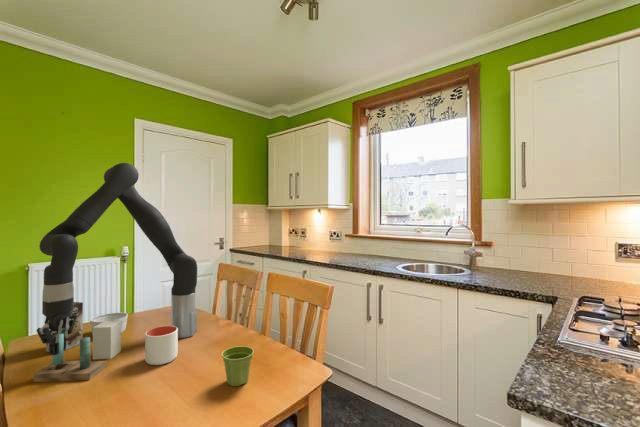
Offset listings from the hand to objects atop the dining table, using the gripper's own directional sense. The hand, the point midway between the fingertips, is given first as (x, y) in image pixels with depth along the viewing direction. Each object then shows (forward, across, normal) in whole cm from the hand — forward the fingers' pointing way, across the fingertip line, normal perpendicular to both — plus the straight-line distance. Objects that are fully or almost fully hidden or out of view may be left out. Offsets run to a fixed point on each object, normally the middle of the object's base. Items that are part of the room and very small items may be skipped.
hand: (57, 352), depth 97 cm
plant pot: (+7, +8, +57) cm, 58 cm away
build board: (+7, 0, 0) cm, 7 cm away
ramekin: (+7, -35, -5) cm, 36 cm away
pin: (+3, 0, 0) cm, 3 cm away
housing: (+7, -13, +7) cm, 16 cm away
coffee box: (+7, -21, -13) cm, 26 cm away
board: (+7, 0, +8) cm, 11 cm away
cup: (+7, -8, +28) cm, 30 cm away
